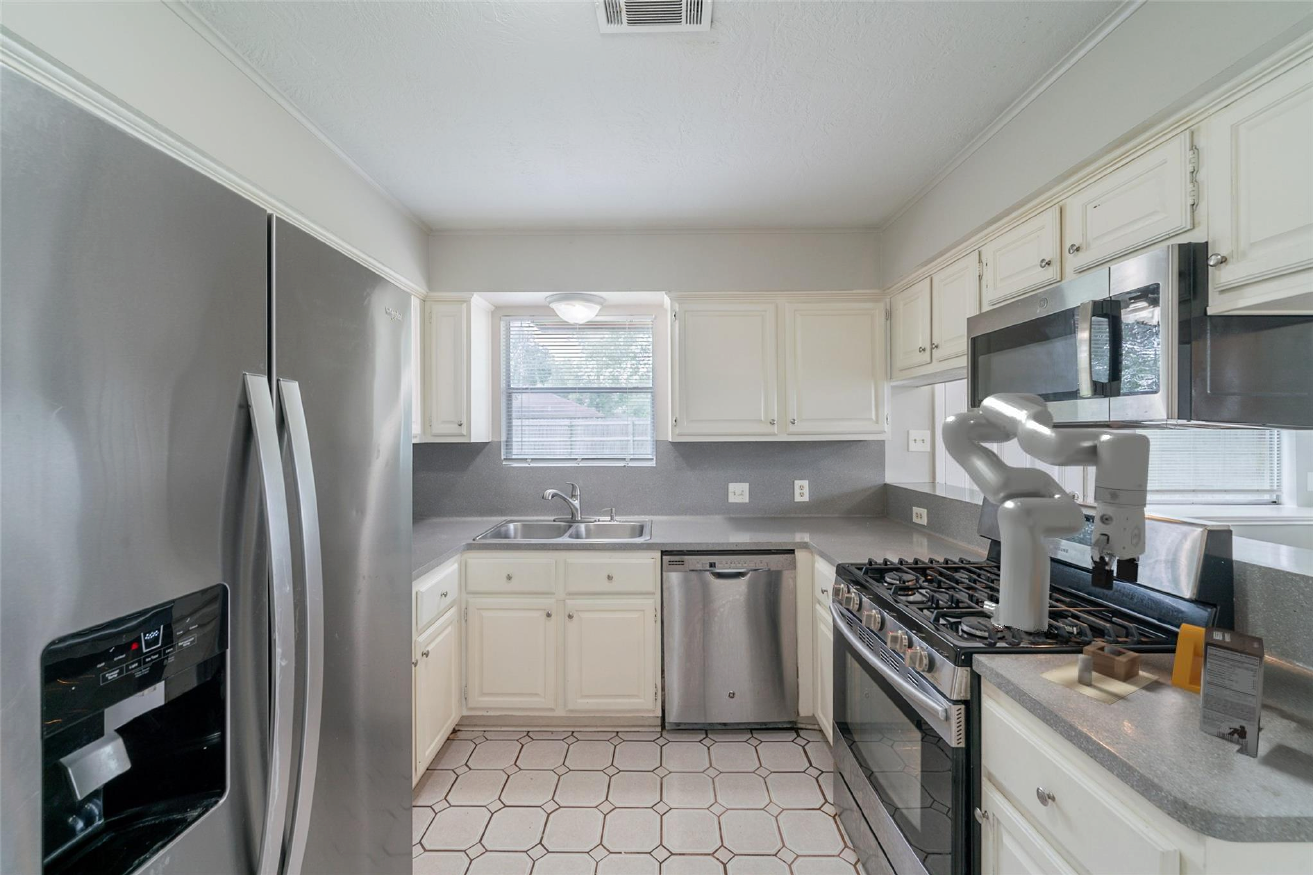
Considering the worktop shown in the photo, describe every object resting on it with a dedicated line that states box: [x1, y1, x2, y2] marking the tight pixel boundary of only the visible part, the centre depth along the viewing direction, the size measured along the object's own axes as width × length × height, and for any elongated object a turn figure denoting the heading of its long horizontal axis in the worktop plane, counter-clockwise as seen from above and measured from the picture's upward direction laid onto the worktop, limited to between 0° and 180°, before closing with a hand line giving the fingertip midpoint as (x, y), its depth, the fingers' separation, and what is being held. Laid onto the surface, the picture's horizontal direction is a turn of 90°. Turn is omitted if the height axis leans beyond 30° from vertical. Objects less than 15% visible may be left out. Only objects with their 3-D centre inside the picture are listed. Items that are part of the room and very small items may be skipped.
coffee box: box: [1198, 625, 1266, 759], centre depth 82 cm, size 9×6×16 cm
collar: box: [1082, 640, 1141, 682], centre depth 101 cm, size 6×6×4 cm
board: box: [1038, 646, 1161, 706], centre depth 98 cm, size 11×20×6 cm, turn 118°
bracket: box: [1171, 622, 1205, 695], centre depth 95 cm, size 11×7×12 cm, turn 123°
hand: (1114, 584), depth 100 cm, fingers open, 9 cm apart
